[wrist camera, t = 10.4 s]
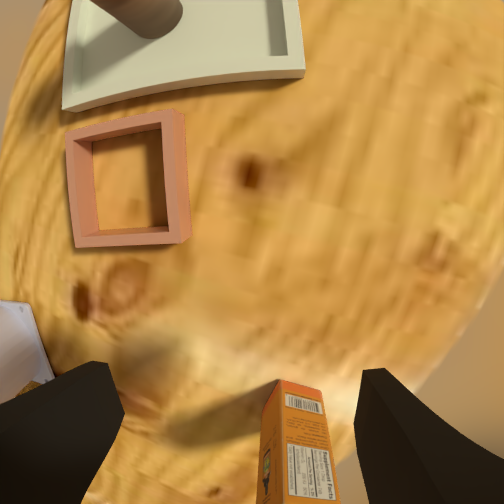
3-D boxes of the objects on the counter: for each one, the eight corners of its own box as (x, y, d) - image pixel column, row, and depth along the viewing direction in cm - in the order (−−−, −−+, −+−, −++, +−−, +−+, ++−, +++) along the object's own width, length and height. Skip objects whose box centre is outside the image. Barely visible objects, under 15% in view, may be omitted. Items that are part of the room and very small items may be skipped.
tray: (76, 112, 16) (61, 109, 15) (89, -18, 14) (78, -27, 12) (303, 78, 15) (305, 69, 13) (285, -60, 12) (285, -74, 11)
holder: (93, 240, 18) (75, 247, 17) (83, 134, 17) (65, 132, 15) (192, 235, 18) (181, 243, 16) (184, 114, 16) (172, 108, 14)
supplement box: (305, 421, 20) (309, 539, 11) (261, 408, 20) (246, 529, 11) (327, 389, 20) (343, 514, 10) (280, 375, 20) (273, 505, 10)
